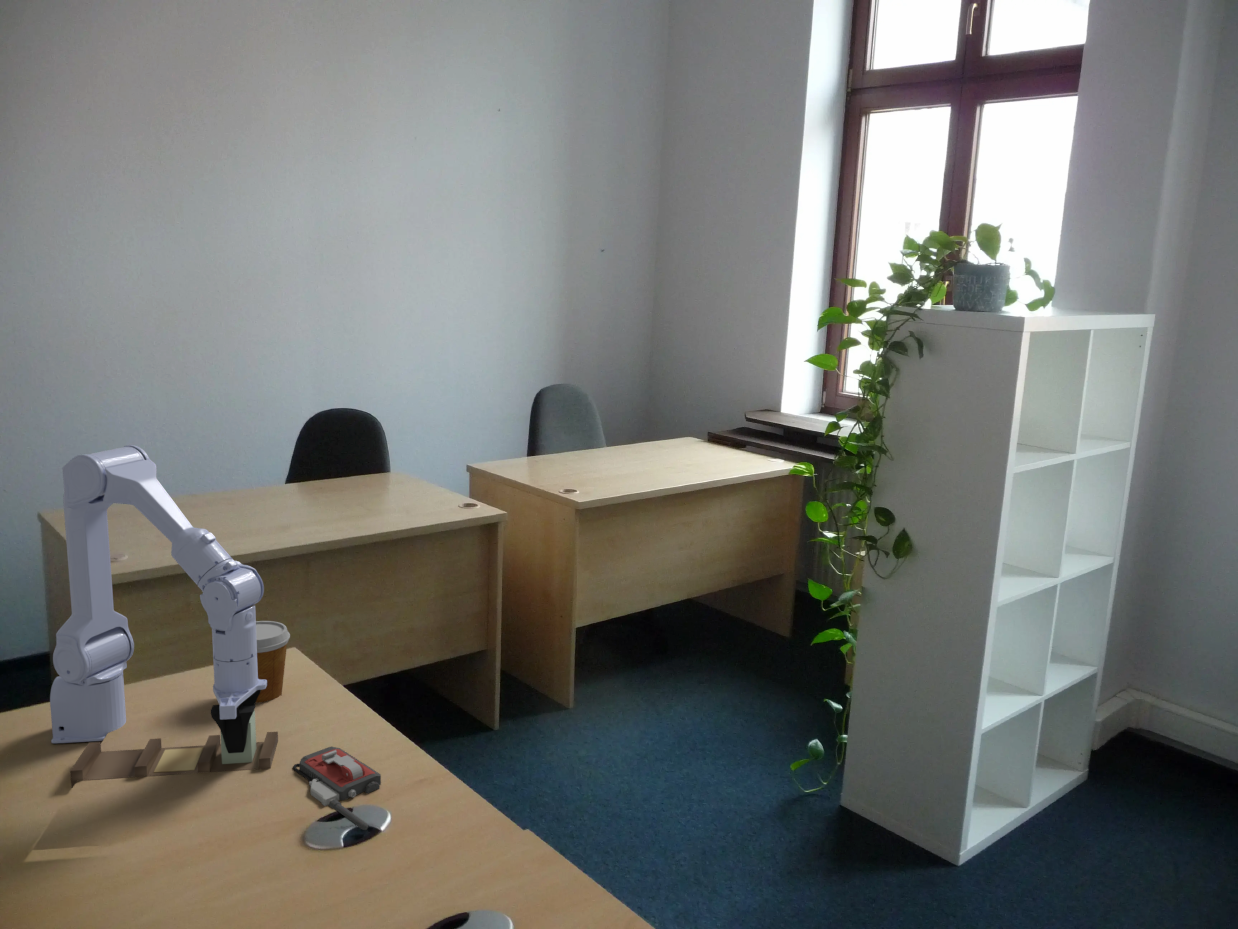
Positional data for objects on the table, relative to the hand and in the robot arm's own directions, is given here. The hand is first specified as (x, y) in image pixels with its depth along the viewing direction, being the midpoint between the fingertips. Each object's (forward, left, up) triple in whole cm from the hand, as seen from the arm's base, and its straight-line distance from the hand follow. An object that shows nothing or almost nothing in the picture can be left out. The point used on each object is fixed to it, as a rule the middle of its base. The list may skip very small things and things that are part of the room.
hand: (238, 744), depth 138 cm
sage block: (0, 0, -2) cm, 2 cm away
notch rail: (-8, 0, -3) cm, 9 cm away
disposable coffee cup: (0, +21, -3) cm, 21 cm away
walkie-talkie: (+15, -11, -4) cm, 19 cm away
